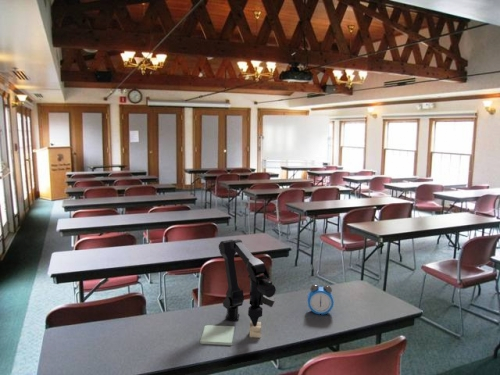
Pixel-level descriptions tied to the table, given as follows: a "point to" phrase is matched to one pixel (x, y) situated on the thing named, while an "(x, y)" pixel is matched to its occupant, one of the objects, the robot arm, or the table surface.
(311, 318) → the table surface
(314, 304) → the alarm clock
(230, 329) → the green pad
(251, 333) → the birch cube
